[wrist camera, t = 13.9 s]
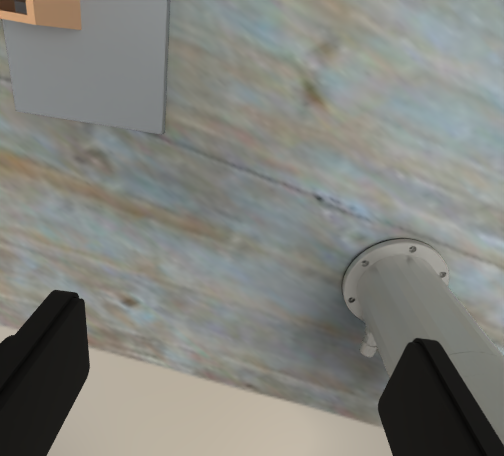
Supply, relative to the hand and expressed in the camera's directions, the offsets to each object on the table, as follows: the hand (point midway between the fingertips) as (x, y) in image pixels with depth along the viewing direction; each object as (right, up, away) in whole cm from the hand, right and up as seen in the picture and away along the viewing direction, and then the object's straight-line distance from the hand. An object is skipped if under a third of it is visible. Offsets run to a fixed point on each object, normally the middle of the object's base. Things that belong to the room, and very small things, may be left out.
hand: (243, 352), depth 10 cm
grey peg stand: (-14, +21, +21) cm, 33 cm away
